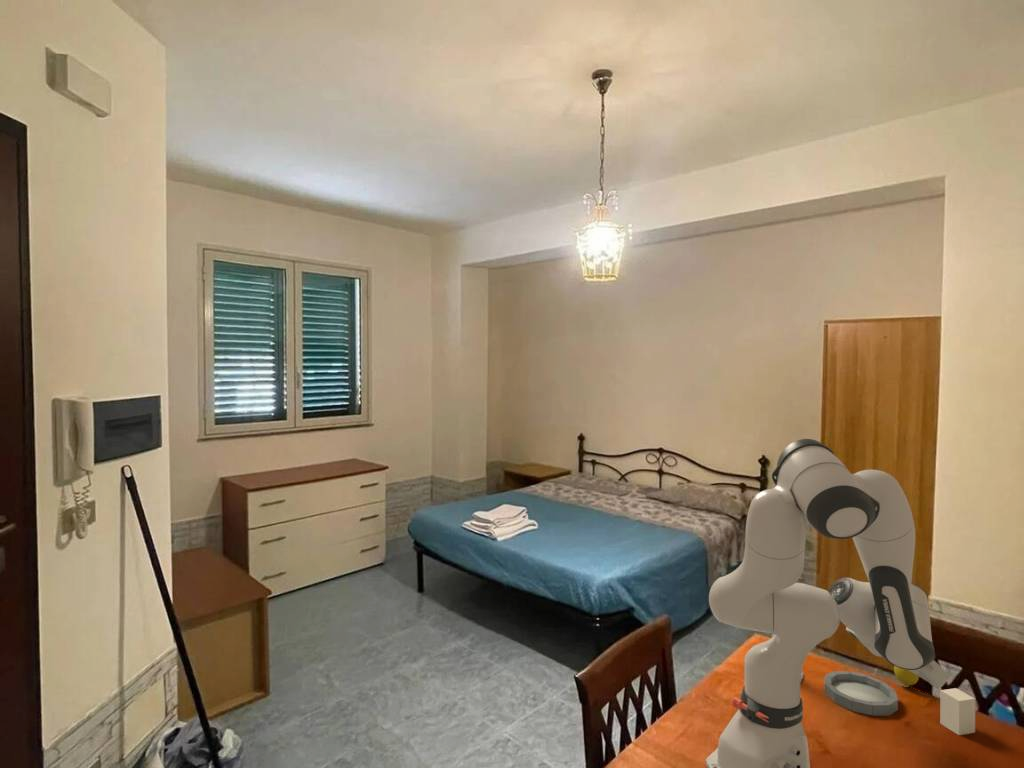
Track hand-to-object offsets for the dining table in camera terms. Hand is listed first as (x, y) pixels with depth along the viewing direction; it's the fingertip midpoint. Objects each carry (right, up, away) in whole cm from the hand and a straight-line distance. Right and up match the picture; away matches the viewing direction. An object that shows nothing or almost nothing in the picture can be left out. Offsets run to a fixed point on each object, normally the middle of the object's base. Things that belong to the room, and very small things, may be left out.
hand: (918, 673), depth 130 cm
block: (+12, -15, +4) cm, 19 cm away
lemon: (+12, -15, +22) cm, 29 cm away
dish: (-3, -15, +17) cm, 22 cm away
